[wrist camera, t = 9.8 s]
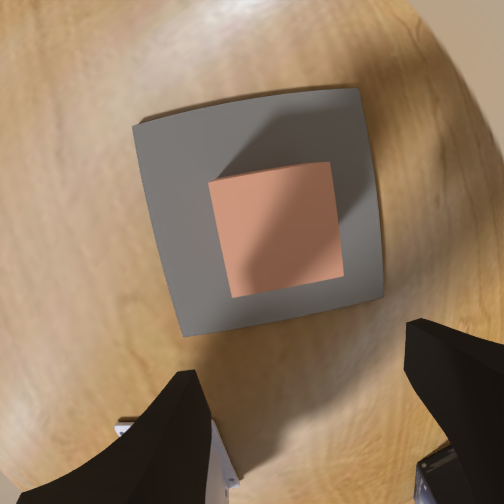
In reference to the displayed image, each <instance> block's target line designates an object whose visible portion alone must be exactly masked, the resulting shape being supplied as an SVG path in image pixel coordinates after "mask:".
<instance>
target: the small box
mask: <svg viewBox="0 0 504 504" xmlns="http://www.w3.org/2000/svg"><path fill="white" fill-rule="evenodd" d="M414 500H415V503H416V504H476V502H475V499H474V496H473V493H472V490H471V487H470V485H469V482H468V479H467V477H466V474H465V472H464V470H463V468H462V465H461V463H460V461H459V459H458V457H457V455H456V452H455V450H454V449H453V447H452V445H451V446H450V447H448V448H446V449H444V450H442V451H441V452H439V453H437V454H435V455H433V456H431V457H429V458H427V459H425V460H423V461H421V462H419V463H417V465H416V478H415V490H414Z"/></svg>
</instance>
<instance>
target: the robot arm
mask: <svg viewBox="0 0 504 504" xmlns="http://www.w3.org/2000/svg"><path fill="white" fill-rule="evenodd" d="M404 371H405V373H406V375H407V377H408V379H409V381H410V383H411V385H412V387H413V389H414V390H415V392H416V393H417V395H418V396H419V398H420V399H421V400H422V402H423V403H424V405H425V406H426V407H427V409H428V410H429V412H430V413H431V414H432V416H433V417H434V419H435V420H436V421H437V423H438V424H439V426H440V427H441V428H442V430H443V431H444V433H445V434H446V436H447V437H448V439H449V441H450V443H451V445H452V447H453V449H454V450H455V452H456V455H457V457H458V459H459V461H460V463H461V465H462V468H463V470H464V472H465V474H466V477H467V479H468V482H469V485H470V487H471V490H472V493H473V496H474V499H475V502H476V504H504V345H503V344H499V343H495V342H492V341H488V340H485V339H481V338H478V337H475V336H472V335H469V334H466V333H463V332H461V331H458V330H455V329H452V328H450V327H447V326H444V325H441V324H439V323H436V322H433V321H430V320H426V319H423V318H420V319H417V320H413V321H410V322H407V323H406V342H405V358H404ZM114 428H115V430H116V432H117V434H118V435H119V438H118V439H117V440H116V441H114V442H113V443H112V444H111V445H110V446H108V447H107V448H106V449H105V450H103V451H102V452H101V453H99V454H98V455H96V456H95V457H94V458H92V459H91V460H89V461H88V462H86V463H85V464H83V465H82V466H80V467H79V468H77V469H75V470H73V471H72V472H70V473H68V474H66V475H64V476H62V477H60V478H58V479H56V480H54V481H52V482H50V483H47V484H45V485H42V486H40V487H37V488H34V489H32V490H29V491H26V492H23V493H21V495H20V497H19V499H18V501H17V503H16V504H229V488H236V487H239V486H240V482H239V479H238V477H237V475H236V472H235V470H234V468H233V466H232V463H231V461H230V458H229V456H228V454H227V451H226V449H225V446H224V444H223V442H222V439H221V437H220V434H219V432H218V429H217V426H216V424H215V422H214V420H212V419H211V412H210V409H209V406H208V404H207V401H206V398H205V396H204V393H203V390H202V388H201V385H200V382H199V379H198V376H197V374H196V371H195V369H194V370H187V371H179V372H177V373H176V374H175V375H174V376H173V378H172V379H171V380H170V381H169V383H168V384H167V385H166V386H165V388H164V389H163V390H162V391H161V393H160V394H159V395H158V396H157V397H156V399H155V400H154V401H153V402H152V403H151V405H150V406H149V407H148V408H147V409H146V411H145V412H144V413H143V414H142V415H141V416H140V417H139V418H138V419H137V420H136V421H135V422H118V423H116V424H115V426H114Z"/></svg>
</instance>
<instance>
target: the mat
mask: <svg viewBox="0 0 504 504" xmlns="http://www.w3.org/2000/svg"><path fill="white" fill-rule="evenodd" d="M132 129H133V135H134V141H135V147H136V152H137V157H138V163H139V168H140V173H141V178H142V183H143V187H144V192H145V197H146V201H147V206H148V210H149V215H150V219H151V223H152V227H153V231H154V236H155V240H156V244H157V248H158V251H159V255H160V259H161V263H162V267H163V270H164V274H165V278H166V281H167V285H168V288H169V292H170V295H171V299H172V302H173V306H174V309H175V312H176V316H177V319H178V322H179V325H180V329H181V332H182V335H183V337H189V336H196V335H203V334H209V333H215V332H221V331H227V330H233V329H239V328H245V327H250V326H256V325H261V324H267V323H272V322H277V321H282V320H287V319H292V318H297V317H302V316H306V315H311V314H316V313H320V312H325V311H329V310H334V309H338V308H342V307H347V306H351V305H355V304H359V303H363V302H367V301H371V300H375V299H379V298H383V297H384V282H383V260H382V244H381V231H380V220H379V210H378V201H377V192H376V184H375V176H374V169H373V162H372V156H371V149H370V143H369V137H368V132H367V126H366V121H365V116H364V111H363V106H362V101H361V96H360V92H359V88H343V89H328V90H316V91H306V92H297V93H288V94H280V95H273V96H266V97H259V98H253V99H246V100H241V101H235V102H230V103H224V104H219V105H214V106H209V107H205V108H200V109H195V110H191V111H187V112H183V113H178V114H174V115H170V116H166V117H163V118H159V119H155V120H151V121H148V122H144V123H141V124H137V125H134V126H132ZM316 162H330V166H331V173H332V179H333V186H334V193H335V200H336V208H337V216H338V224H339V232H340V241H341V251H342V261H343V271H344V276H342V277H338V278H333V279H328V280H323V281H318V282H314V283H309V284H304V285H299V286H293V287H288V288H283V289H278V290H273V291H268V292H262V293H257V294H251V295H246V296H240V297H235V298H232V295H231V290H230V286H229V281H228V277H227V272H226V267H225V263H224V258H223V253H222V249H221V244H220V239H219V234H218V229H217V225H216V220H215V215H214V210H213V205H212V200H211V195H210V190H209V185H208V182H210V181H212V180H214V179H216V178H221V177H226V176H232V175H237V174H242V173H248V172H253V171H259V170H265V169H271V168H277V167H283V166H289V165H296V164H302V163H316Z"/></svg>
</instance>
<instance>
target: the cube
mask: <svg viewBox="0 0 504 504" xmlns="http://www.w3.org/2000/svg"><path fill="white" fill-rule="evenodd" d="M208 185H209V190H210V195H211V200H212V205H213V210H214V215H215V220H216V225H217V229H218V234H219V239H220V244H221V249H222V253H223V258H224V263H225V267H226V272H227V277H228V281H229V286H230V290H231V295H232V298H235V297H240V296H246V295H251V294H257V293H262V292H268V291H273V290H278V289H283V288H288V287H293V286H299V285H304V284H309V283H314V282H318V281H323V280H328V279H333V278H338V277H342V276H344V271H343V261H342V251H341V241H340V232H339V224H338V216H337V208H336V200H335V193H334V186H333V179H332V173H331V166H330V162H316V163H302V164H296V165H289V166H283V167H277V168H271V169H265V170H259V171H253V172H248V173H242V174H237V175H232V176H226V177H221V178H216V179H214V180H212V181H210V182H208Z"/></svg>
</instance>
